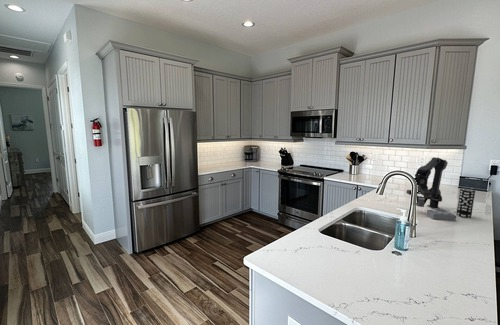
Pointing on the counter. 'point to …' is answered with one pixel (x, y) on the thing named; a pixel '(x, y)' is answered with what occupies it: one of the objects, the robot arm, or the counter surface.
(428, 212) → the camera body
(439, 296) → the counter surface
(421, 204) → the lens
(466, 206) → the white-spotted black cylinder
